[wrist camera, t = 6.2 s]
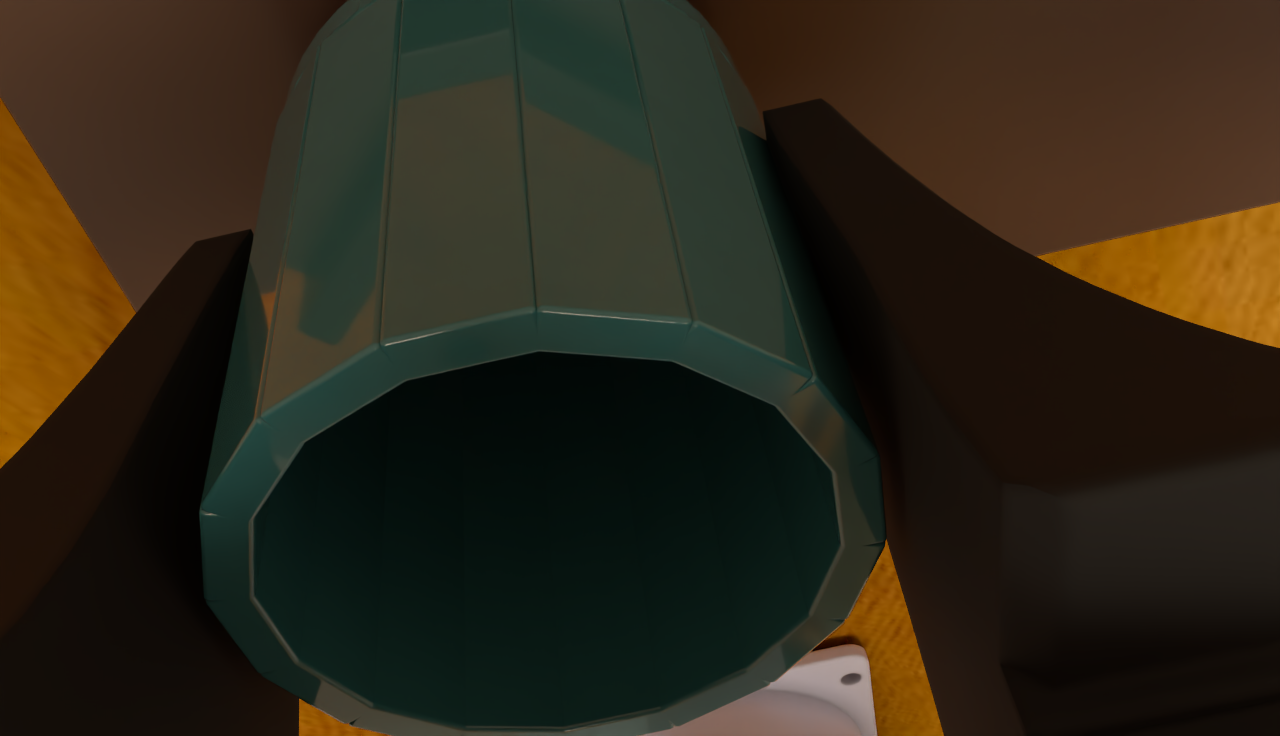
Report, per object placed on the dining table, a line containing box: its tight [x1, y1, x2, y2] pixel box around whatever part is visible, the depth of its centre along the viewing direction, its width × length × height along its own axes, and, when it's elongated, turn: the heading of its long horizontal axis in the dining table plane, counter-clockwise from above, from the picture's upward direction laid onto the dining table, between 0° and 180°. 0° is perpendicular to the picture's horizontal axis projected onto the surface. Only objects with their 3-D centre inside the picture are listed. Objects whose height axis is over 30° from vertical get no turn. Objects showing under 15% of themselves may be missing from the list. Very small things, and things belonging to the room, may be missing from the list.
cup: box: [199, 0, 887, 736], centre depth 12 cm, size 5×5×6 cm
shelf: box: [0, 0, 1280, 313], centre depth 16 cm, size 9×18×5 cm, turn 101°
